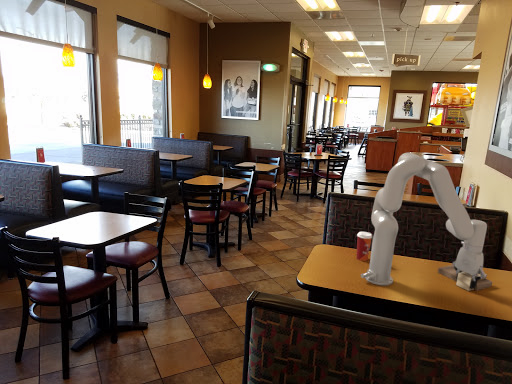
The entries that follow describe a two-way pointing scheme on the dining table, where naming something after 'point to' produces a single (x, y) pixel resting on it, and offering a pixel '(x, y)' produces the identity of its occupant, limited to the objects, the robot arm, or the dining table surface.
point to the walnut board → (451, 272)
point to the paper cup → (363, 245)
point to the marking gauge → (465, 280)
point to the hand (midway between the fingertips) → (465, 284)
